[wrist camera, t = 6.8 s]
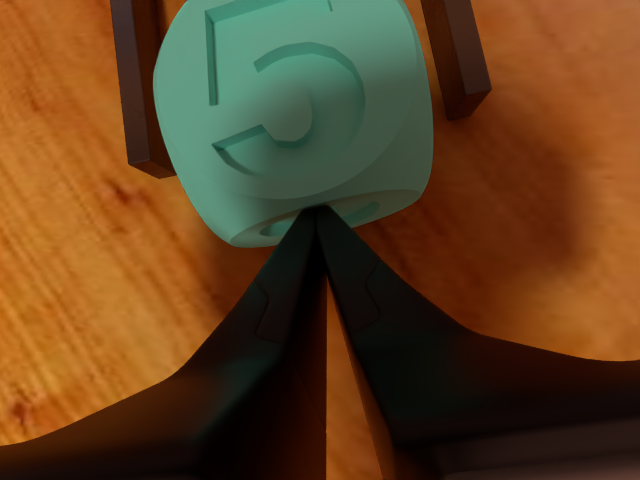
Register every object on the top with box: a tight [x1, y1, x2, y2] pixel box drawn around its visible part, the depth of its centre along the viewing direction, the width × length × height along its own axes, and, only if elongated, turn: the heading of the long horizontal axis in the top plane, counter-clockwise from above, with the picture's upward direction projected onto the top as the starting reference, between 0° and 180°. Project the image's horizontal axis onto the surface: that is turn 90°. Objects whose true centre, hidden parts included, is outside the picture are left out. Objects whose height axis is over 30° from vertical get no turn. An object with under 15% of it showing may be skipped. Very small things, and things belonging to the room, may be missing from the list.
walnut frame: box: [110, 0, 492, 179], centre depth 16 cm, size 13×17×2 cm
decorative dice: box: [153, 0, 434, 248], centre depth 13 cm, size 8×8×8 cm
